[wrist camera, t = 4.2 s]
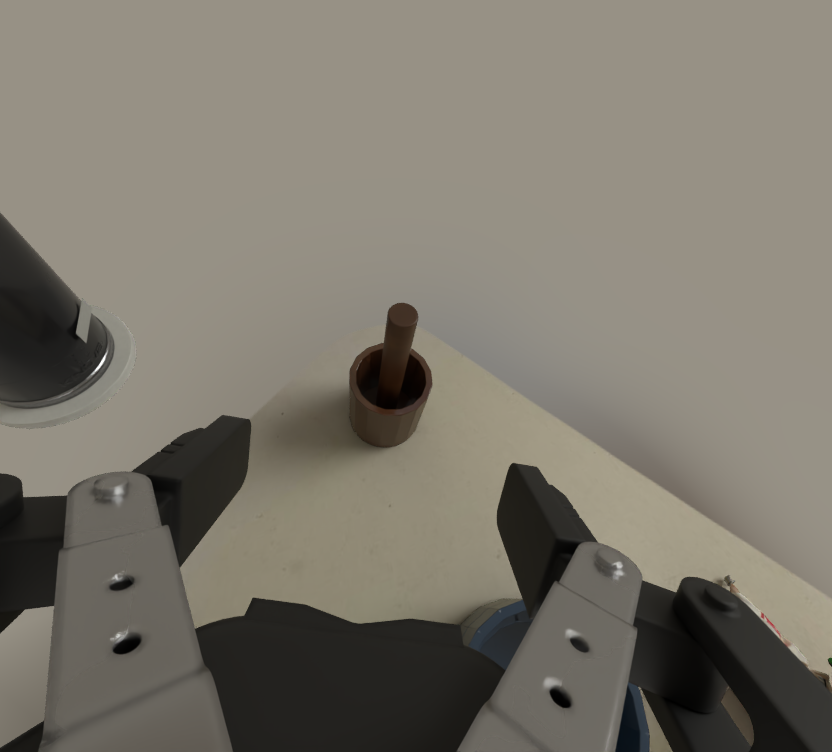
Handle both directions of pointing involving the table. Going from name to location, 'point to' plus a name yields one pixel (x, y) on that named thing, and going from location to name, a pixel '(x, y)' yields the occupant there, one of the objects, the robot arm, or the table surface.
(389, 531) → the table surface
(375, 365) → the holder
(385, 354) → the stick
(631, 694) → the bowl
